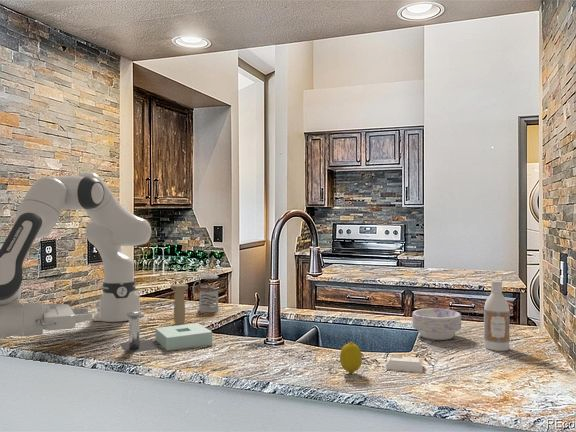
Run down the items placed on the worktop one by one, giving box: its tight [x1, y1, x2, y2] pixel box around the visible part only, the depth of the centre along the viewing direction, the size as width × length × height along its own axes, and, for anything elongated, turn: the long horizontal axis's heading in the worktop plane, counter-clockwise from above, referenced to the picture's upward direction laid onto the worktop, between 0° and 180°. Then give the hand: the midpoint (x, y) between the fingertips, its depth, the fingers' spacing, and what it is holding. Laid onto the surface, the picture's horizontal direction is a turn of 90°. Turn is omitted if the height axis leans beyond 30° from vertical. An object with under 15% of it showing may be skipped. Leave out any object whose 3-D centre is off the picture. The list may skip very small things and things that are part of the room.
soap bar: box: [385, 355, 423, 373], centre depth 128 cm, size 5×9×3 cm, turn 74°
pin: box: [127, 310, 142, 350], centre depth 147 cm, size 4×4×11 cm
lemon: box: [339, 341, 363, 374], centre depth 124 cm, size 6×6×8 cm
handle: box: [170, 283, 189, 326], centre depth 175 cm, size 5×6×15 cm
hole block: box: [154, 322, 213, 351], centre depth 154 cm, size 14×14×4 cm
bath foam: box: [483, 279, 511, 352], centre depth 146 cm, size 7×7×20 cm
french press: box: [192, 249, 221, 313], centre depth 206 cm, size 10×12×25 cm
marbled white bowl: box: [411, 308, 462, 341], centre depth 160 cm, size 15×15×8 cm
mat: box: [118, 338, 162, 354], centre depth 150 cm, size 12×10×1 cm
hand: (89, 313), depth 141 cm, fingers open, 8 cm apart
